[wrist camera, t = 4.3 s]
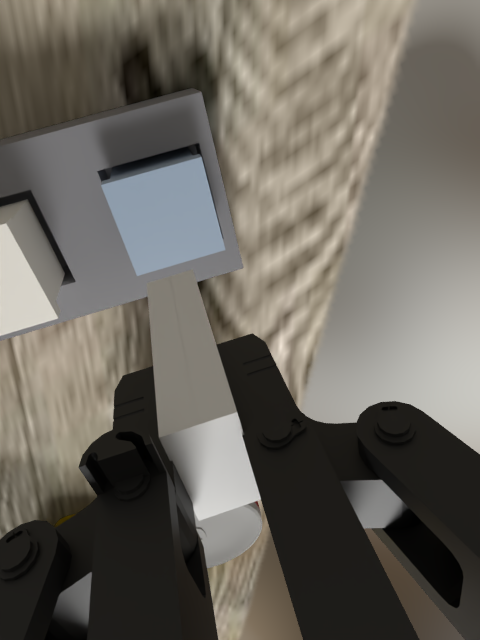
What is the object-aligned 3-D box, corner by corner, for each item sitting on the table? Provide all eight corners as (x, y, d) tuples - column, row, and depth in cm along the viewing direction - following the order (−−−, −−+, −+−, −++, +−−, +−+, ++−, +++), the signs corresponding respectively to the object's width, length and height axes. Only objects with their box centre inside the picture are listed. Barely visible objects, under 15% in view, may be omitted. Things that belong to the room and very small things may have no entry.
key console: (-127, 350, 28) (-161, 389, 25) (-253, 207, 23) (-319, 232, 20) (231, 245, 30) (243, 267, 27) (192, 87, 25) (201, 91, 21)
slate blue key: (136, 243, 27) (137, 275, 23) (106, 164, 24) (100, 185, 20) (211, 221, 27) (225, 249, 23) (190, 141, 25) (201, 156, 21)
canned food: (123, 421, 36) (120, 544, 27) (201, 372, 35) (225, 481, 26) (176, 465, 40) (189, 585, 31) (247, 422, 39) (282, 532, 30)
